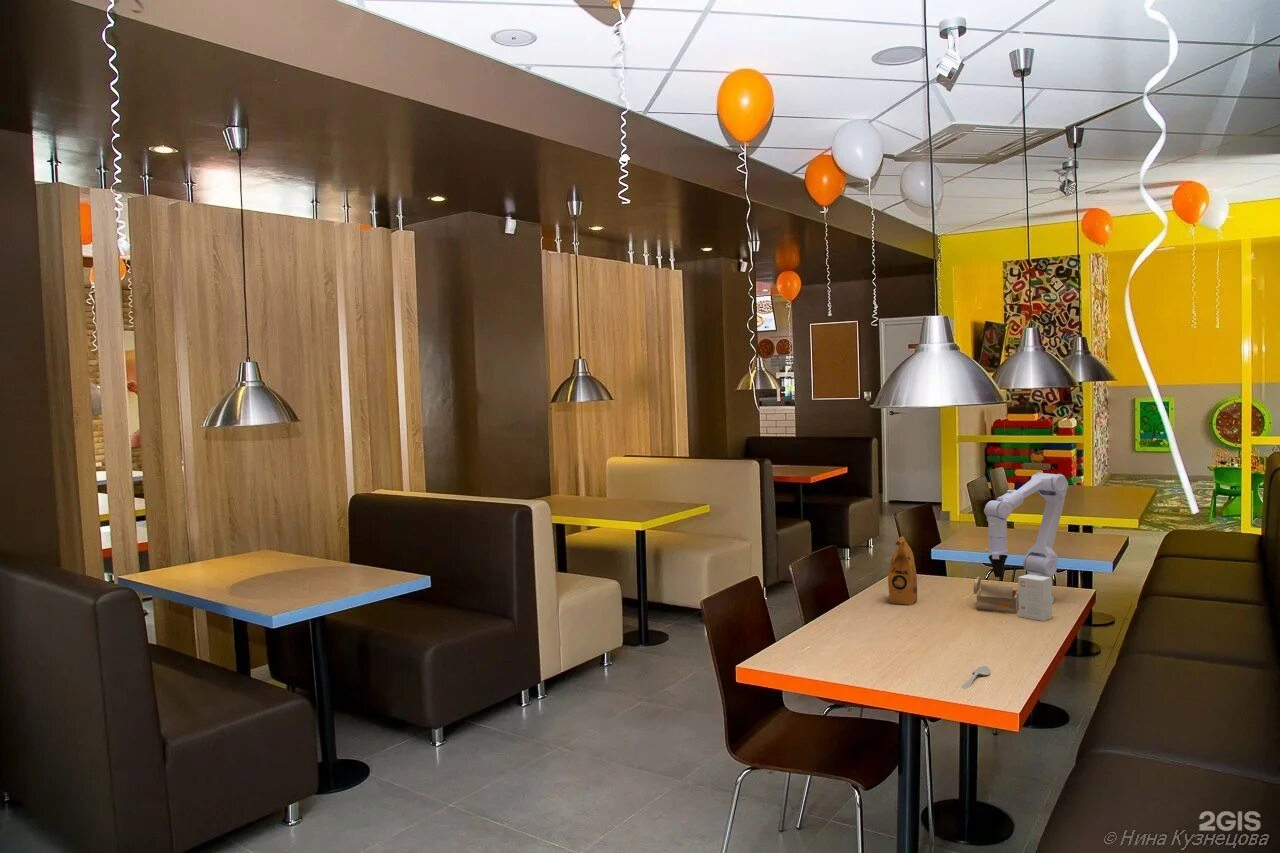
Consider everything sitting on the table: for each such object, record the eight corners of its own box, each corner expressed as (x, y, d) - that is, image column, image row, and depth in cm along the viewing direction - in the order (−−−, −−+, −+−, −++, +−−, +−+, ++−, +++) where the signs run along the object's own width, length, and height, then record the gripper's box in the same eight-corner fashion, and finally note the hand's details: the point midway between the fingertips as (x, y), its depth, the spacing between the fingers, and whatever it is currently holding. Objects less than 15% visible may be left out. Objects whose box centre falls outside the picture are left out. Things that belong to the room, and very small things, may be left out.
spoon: (994, 673, 227) (994, 667, 227) (967, 695, 211) (967, 689, 211) (978, 670, 230) (977, 664, 230) (950, 692, 214) (950, 685, 214)
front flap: (981, 583, 289) (980, 583, 288) (1012, 585, 284) (1012, 586, 283) (981, 595, 289) (980, 596, 288) (1012, 598, 284) (1012, 598, 283)
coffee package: (884, 604, 302) (883, 541, 301) (891, 596, 313) (890, 535, 312) (914, 606, 297) (913, 542, 296) (920, 598, 308) (918, 536, 308)
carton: (981, 602, 300) (981, 587, 300) (1019, 605, 295) (1019, 590, 294) (976, 610, 290) (976, 595, 289) (1016, 613, 284) (1015, 598, 284)
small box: (1052, 617, 277) (1052, 577, 277) (1043, 621, 273) (1042, 580, 273) (1027, 613, 284) (1027, 573, 283) (1018, 617, 280) (1017, 576, 279)
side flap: (981, 576, 299) (977, 576, 299) (977, 582, 291) (974, 582, 291) (980, 588, 299) (977, 587, 300) (976, 594, 291) (973, 593, 291)
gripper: (987, 532, 299) (988, 571, 300) (982, 539, 287) (982, 580, 287) (1009, 533, 296) (1010, 573, 297) (1005, 540, 283) (1006, 581, 284)
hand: (998, 576), depth 292 cm, fingers closed
